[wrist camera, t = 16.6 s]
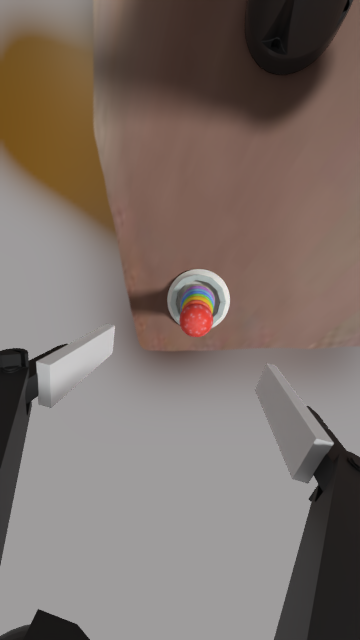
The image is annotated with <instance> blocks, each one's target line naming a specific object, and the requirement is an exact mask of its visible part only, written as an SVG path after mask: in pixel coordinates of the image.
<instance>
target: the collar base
mask: <svg viewBox="0 0 360 640" xmlns="http://www.w3.org/2000/svg"><path fill="white" fill-rule="evenodd" d="M195 284H201V285H205V286H207V287H208V288H209V289H210V290H211V291H212V292H213V294H214V297H215V305H214V309H213V314H212V315H213V325H212V328H213V327H214V326H216V325H217V324H219V323H220V322H221V321H222V320H223V318H224V317H225V316H226V314H227V312H228V309H229V305H230V295H229V291H228V288H227V286H226V284H225V283H224V281H223V280H222V279H221V278H220V277H219V276H218V275H216V274H215V273H213V272H211V271H208V270H203V269H194V270H190V271H187V272H184V273H183V274H181V275H180V276H178V277H177V278H176V279H175V280H174V282H173V283H172V285H171V287H170V289H169V292H168V297H167V303H168V309H169V311H170V314H171V316H172V317H173V319H174V320H175V321H176V322H177V323H178V324H179V325H180V322H179V318H180V314H181V312H182V311H181V297H182V294H183V292H184V291H185V290H186V289H187V288H188V287H189V286H191V285H195Z"/></svg>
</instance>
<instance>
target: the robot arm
mask: <svg viewBox="0 0 360 640" xmlns="http://www.w3.org/2000/svg"><path fill="white" fill-rule="evenodd" d="M352 2H353V0H248V2H247V8H246V16H245V34H246V40H247V44H248V48H249V50H250V53H251V55H252V57H253V58H254V60H255V61H256V62H257V64H258V65H259V66H261V67H262V68H263V69H265V70H266V71H268V72H271V73H274V74H289V73H293V72H296V71H299V70H301V69H303V68H305V67H306V66H308V65H309V64H311V63H312V62H313V61H315V60H316V59H317V58H318V57H319V56H320V55H321V54H322V53H323V52H324V51H325V49H326V48H327V47H328V46H329V44H330V43H331V41H332V40H333V38H334V37H335V35H336V33H337V31H338V30H339V28H340V26H341V24H342V22H343V20H344V19H345V17H346V15H347V13H348V11H349V9H350V7H351V4H352ZM114 331H115V325H110V324H105V325H103V326H101V327H100V328H98V329H96V330H94V331H92V332H90V333H89V334H87V335H85V336H83V337H81V338H79V339H77V340H75V341H74V342H72V343H70V344H64V345H60V346H57V347H55V348H53V349H51V350H49V351H47V352H45V353H43V354H42V355H39V356H37V357H35V358H34V359H32V360H30V361H28V352H27V350H25V349H20V348H13V349H6V350H2V351H0V564H1V558H2V554H3V549H4V544H5V538H6V533H7V528H8V523H9V518H10V513H11V508H12V503H13V498H14V493H15V488H16V482H17V478H18V473H19V468H20V463H21V457H22V452H23V447H24V442H25V437H26V432H27V427H28V422H29V417H30V411H31V407H32V402H31V401H32V400H33V399H34V398H36V397H37V396H38V402H39V405H43V406H47V407H50V408H51V407H53V406H54V405H55V404H56V403H57V402H58V401H59V400H61V399H62V398H63V397H64V396H65V395H66V394H67V393H68V392H69V391H70V390H72V389H73V388H74V387H75V386H76V385H77V384H79V383H80V382H81V381H82V380H83V379H84V378H85V377H86V376H87V375H89V374H90V373H91V372H92V371H93V370H94V369H95V368H96V367H98V366H99V365H100V364H101V363H102V362H103V361H104V360H105V359H107V358H108V357H109V356H110V355H111V354H112V352H113V341H114ZM255 391H256V394H257V396H258V398H259V401H260V403H261V405H262V408H263V410H264V413H265V415H266V417H267V420H268V422H269V425H270V427H271V429H272V432H273V434H274V436H275V439H276V441H277V443H278V446H279V448H280V451H281V453H282V455H283V458H284V460H285V462H286V465H287V467H288V470H289V472H290V475H291V477H292V479H295V480H298V481H302V482H305V483H309V481H310V480H311V478H312V477H313V475H314V476H315V478H316V480H317V482H318V486H317V487H316V489H315V490H314V492H313V493H312V495H311V496H310V498H309V500H310V501H312V503H311V507H310V510H309V514H308V517H307V521H306V525H305V528H304V532H303V536H302V540H301V543H300V547H299V550H298V554H297V558H296V561H295V565H294V568H293V572H292V576H291V580H290V583H289V587H288V591H287V594H286V598H285V602H284V605H283V609H282V613H281V616H280V620H279V623H278V627H277V631H276V635H275V638H274V640H360V457H359V456H357V455H355V454H353V453H351V452H348V451H346V449H345V448H344V447H343V446H342V444H341V443H340V442H339V441H338V439H337V438H336V437H335V435H334V434H333V433H332V432H331V430H330V429H328V427H327V425H326V424H325V423H323V420H322V419H321V418H320V416H319V415H318V414H317V413H316V412H315V411H314V410H312V409H311V408H310V407H309V406H306V405H305V404H304V402H303V401H302V400H301V399H300V397H299V396H298V394H297V393H296V392H295V390H294V389H293V388H292V386H291V385H290V384H289V382H288V381H287V380H286V378H285V377H284V376H283V374H282V373H281V372H280V370H279V369H278V368H277V366H276V365H272V364H268V363H266V365H265V367H264V370H263V372H262V375H261V377H260V380H259V382H258V385H257V387H256V390H255ZM0 640H90V639H89V638H88V637H87V636H86V635H85V633H84V632H83V631H82V630H81V629H80V627H79V626H78V625H77V624H75V623H72V622H70V621H67V620H64V619H62V618H59V617H57V616H54V615H52V614H49V613H47V612H44V611H42V610H39V609H38V611H37V612H36V615H35V617H34V619H33V621H32V623H31V624H30V625H25V626H22V627H19V628H16V629H13V630H11V631H9V632H7V633H5V634H3V635H1V636H0Z"/></svg>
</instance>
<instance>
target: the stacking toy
mask: <svg viewBox="0 0 360 640" xmlns="http://www.w3.org/2000/svg"><path fill="white" fill-rule="evenodd" d="M214 305H215V297H214V294H213V292H212V291H211V290H210V289H209V288H208V287H207V286H205V285H201V284H195V285H191V286H189V287H188V288H187V289H186V290H185V291H184V292H183V294H182V297H181V311H182V312H181V314H180V318H179V322H180V326H181V328H182V330H183V331H184V332H185V333H186V334H187V335H189V336H192V337H200V336H203V335H205V334H207V333H208V332H209V331H210V329H211V328H212V325H213V315H212V314H213V309H214Z"/></svg>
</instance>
